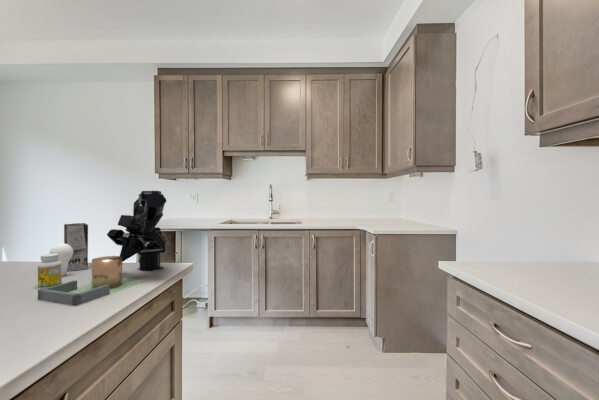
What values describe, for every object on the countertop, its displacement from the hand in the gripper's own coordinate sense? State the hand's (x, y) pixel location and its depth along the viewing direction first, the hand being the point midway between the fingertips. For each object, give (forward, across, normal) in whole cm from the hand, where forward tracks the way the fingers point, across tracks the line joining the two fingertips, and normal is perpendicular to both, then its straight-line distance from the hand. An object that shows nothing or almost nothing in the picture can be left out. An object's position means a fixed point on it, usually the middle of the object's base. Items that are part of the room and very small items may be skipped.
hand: (120, 260), depth 93 cm
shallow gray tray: (+14, 0, -5) cm, 15 cm away
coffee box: (-2, -31, +12) cm, 33 cm away
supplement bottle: (+12, -16, -1) cm, 20 cm away
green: (+10, 0, 0) cm, 10 cm away
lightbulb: (+5, -24, +5) cm, 25 cm away
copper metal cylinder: (+8, 0, +2) cm, 8 cm away
